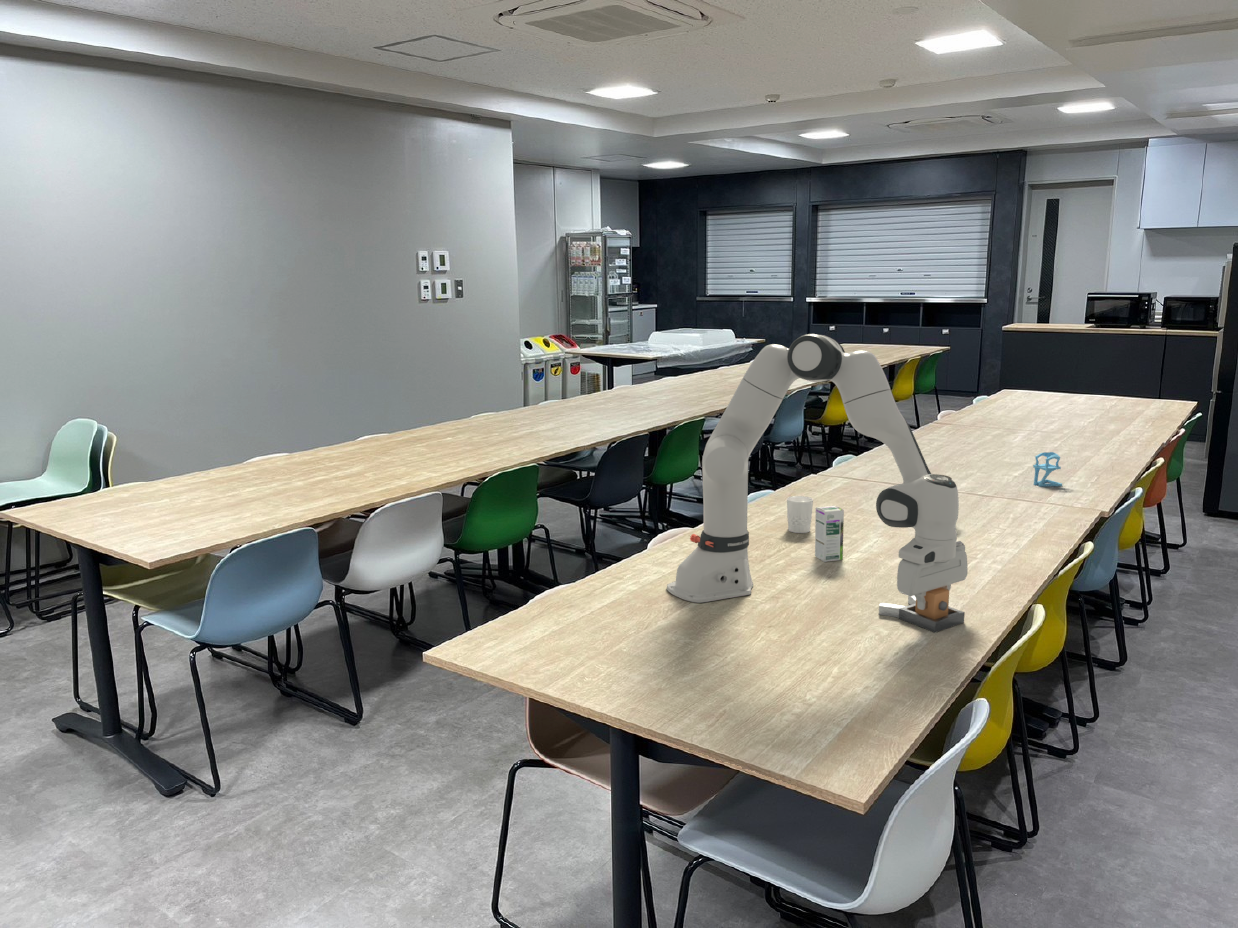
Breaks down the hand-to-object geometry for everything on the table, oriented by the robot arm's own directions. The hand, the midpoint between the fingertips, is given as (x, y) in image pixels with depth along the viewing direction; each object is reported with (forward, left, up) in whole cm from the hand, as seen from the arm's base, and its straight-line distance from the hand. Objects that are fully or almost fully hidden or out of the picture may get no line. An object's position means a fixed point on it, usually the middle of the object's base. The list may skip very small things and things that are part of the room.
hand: (931, 605), depth 204 cm
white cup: (+28, +71, -4) cm, 76 cm away
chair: (+141, +61, -4) cm, 153 cm away
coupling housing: (0, +3, -4) cm, 4 cm away
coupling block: (0, 0, -2) cm, 2 cm away
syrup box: (+15, +46, -4) cm, 48 cm away
